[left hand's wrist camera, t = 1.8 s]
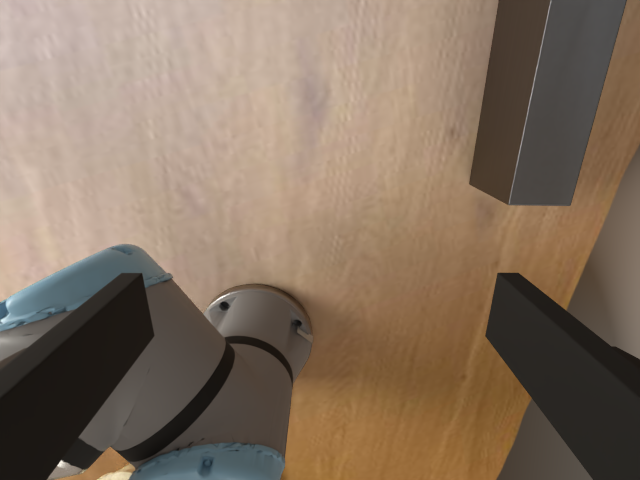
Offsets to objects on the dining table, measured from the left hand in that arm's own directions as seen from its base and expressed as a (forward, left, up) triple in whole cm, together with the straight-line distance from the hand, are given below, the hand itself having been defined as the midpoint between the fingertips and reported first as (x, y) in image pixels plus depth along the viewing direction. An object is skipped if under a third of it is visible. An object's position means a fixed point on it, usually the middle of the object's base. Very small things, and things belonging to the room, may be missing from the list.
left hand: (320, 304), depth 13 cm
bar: (+19, -15, -29) cm, 38 cm away
